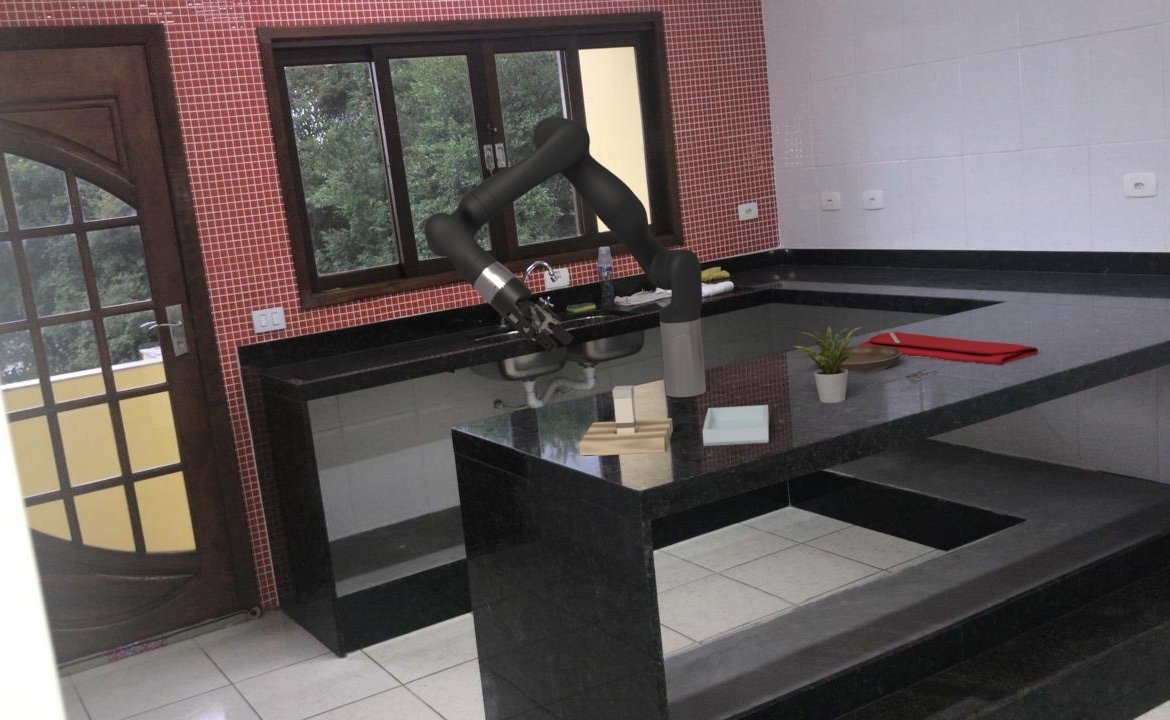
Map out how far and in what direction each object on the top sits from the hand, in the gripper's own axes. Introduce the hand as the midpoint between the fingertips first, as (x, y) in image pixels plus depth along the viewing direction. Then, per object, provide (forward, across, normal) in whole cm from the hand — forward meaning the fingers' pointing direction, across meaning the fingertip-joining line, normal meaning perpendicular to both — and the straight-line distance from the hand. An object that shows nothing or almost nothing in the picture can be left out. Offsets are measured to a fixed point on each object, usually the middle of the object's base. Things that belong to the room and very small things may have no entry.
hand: (562, 345), depth 208 cm
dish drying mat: (+62, +83, -34) cm, 109 cm away
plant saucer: (+48, +70, -20) cm, 87 cm away
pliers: (+56, +51, -28) cm, 81 cm away
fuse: (+22, 0, +6) cm, 23 cm away
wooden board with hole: (+22, 0, +6) cm, 23 cm away
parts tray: (+36, +8, -9) cm, 38 cm away
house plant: (+47, +35, -20) cm, 62 cm away
